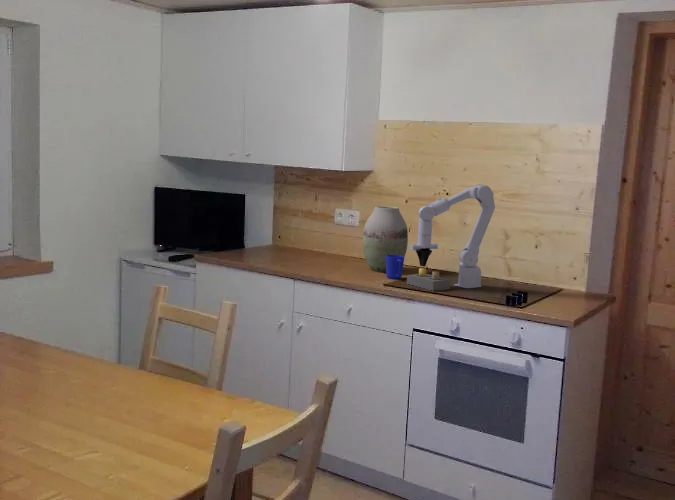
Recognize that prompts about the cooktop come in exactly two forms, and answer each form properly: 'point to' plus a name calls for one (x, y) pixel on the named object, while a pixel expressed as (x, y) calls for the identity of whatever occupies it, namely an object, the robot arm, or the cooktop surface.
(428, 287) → the block
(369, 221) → the vase
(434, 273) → the birch peg
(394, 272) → the mug
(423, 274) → the mustard peg
